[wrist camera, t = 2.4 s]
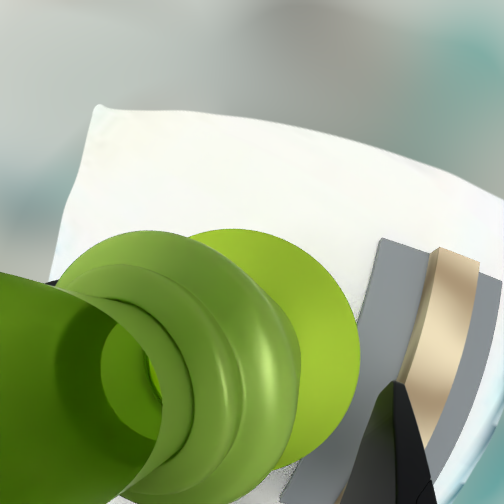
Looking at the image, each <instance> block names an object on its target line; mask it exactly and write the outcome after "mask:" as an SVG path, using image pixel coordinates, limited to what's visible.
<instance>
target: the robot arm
mask: <svg viewBox="0 0 504 504" xmlns="http://www.w3.org/2000/svg"><path fill="white" fill-rule="evenodd" d="M57 282H58V280H55V281H51V282H47V283H45V284H47V285H51V286H54V287H55V285H56V284H57ZM43 284H44V283H43ZM340 504H437V501H436V496H435V492H434V487H433V483H432V480H431V474H430V470H429V466H428V461H427V457H426V453H425V450H424V446H423V442H422V438H421V435H420V431H419V428H418V425H417V421H416V418H415V415H414V411H413V408H412V405H411V402H410V399H409V396H408V393H407V390H406V387H405V385H404V384H403V383H402V382H399V381H396V380H393V381H391V382H390V383H389V384H388V385H387V386H386V387H385V388H384V389H383V390H382V391H381V392H380V393H379V395H378V397H377V399H376V402H375V405H374V408H373V410H372V413H371V416H370V419H369V421H368V424H367V426H366V429H365V431H364V434H363V437H362V439H361V443H360V446H359V449H358V452H357V456H356V459H355V462H354V465H353V468H352V471H351V474H350V477H349V480H348V483H347V486H346V488H345V491H344V494H343V496H342V499H341V501H340Z"/></svg>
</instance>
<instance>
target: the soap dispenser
mask: <svg viewBox="0 0 504 504" xmlns="http://www.w3.org/2000/svg"><path fill="white" fill-rule="evenodd" d="M359 370H360V342H359V335H358V330H357V325H356V322H355V318H354V315H353V312H352V310H351V307H350V305H349V303H348V301H347V299H346V297H345V295H344V293H343V292H342V290H341V288H340V287H339V285H338V284H337V283H336V281H335V280H334V278H333V277H332V276H331V275H330V274H329V273H328V271H327V270H326V269H325V268H324V267H323V266H322V265H321V264H320V263H319V262H318V261H316V260H315V259H314V258H313V257H312V256H310V255H309V254H308V253H306V252H305V251H303V250H302V249H300V248H299V247H297V246H295V245H293V244H292V243H290V242H288V241H285V240H283V239H281V238H278V237H276V236H273V235H270V234H266V233H262V232H258V231H253V230H245V229H220V230H213V231H208V232H203V233H199V234H196V235H193V236H190V237H184V236H181V235H178V234H174V233H169V232H162V231H134V232H128V233H124V234H120V235H117V236H114V237H111V238H108V239H106V240H104V241H102V242H100V243H98V244H96V245H95V246H93V247H92V248H90V249H89V250H87V251H86V252H85V253H83V254H82V255H81V256H80V257H78V258H77V259H76V260H75V261H74V262H73V263H72V264H71V265H70V266H69V267H68V268H67V270H66V271H65V272H64V273H63V275H62V276H61V277H60V279H59V280H58V282H57V284H56V285H55V287H54V286H51V285H47V284H43V283H40V282H36V281H33V280H29V279H25V278H22V277H18V276H14V275H10V274H5V273H2V272H0V504H106V503H108V502H109V501H111V500H112V499H114V498H115V497H117V496H118V495H120V496H122V497H124V498H126V499H128V500H130V501H132V502H135V503H137V504H229V503H232V502H234V501H236V500H238V499H239V498H241V497H243V496H244V495H246V494H247V493H249V492H250V491H252V490H253V489H254V488H255V487H256V486H258V485H259V484H260V483H261V482H262V481H263V480H264V479H265V478H266V476H267V475H268V474H269V473H270V472H271V471H272V470H276V469H279V468H282V467H285V466H287V465H289V464H292V463H294V462H296V461H298V460H300V459H301V458H303V457H305V456H306V455H308V454H309V453H311V452H312V451H313V450H315V449H316V448H317V447H318V446H320V445H321V444H322V443H323V442H324V441H325V440H326V439H327V438H328V437H329V436H330V435H331V433H332V432H333V431H334V430H335V429H336V427H337V426H338V425H339V423H340V422H341V420H342V419H343V417H344V415H345V413H346V412H347V410H348V408H349V406H350V403H351V401H352V398H353V396H354V393H355V389H356V386H357V382H358V377H359Z"/></svg>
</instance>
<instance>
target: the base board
mask: <svg viewBox="0 0 504 504" xmlns="http://www.w3.org/2000/svg"><path fill="white" fill-rule="evenodd" d="M429 255H430V254H429V253H426V252H423V251H420V250H417V249H414V248H412V247H409V246H406V245H403V244H400V243H397V242H394V241H391V240H388V239H385V238H381V240H380V241H379V245H378V249H377V254H376V258H375V262H374V266H373V270H372V274H371V277H370V281H369V285H368V288H367V292H366V295H365V299H364V302H363V306H362V309H361V312H360V316H359V319H358V322H357V330H358V335H359V342H360V370H359V377H358V382H357V386H356V389H355V393H354V396H353V398H352V401H351V403H350V406H349V408H348V410H347V412H346V413H345V415H344V417H343V419H342V420H341V422H340V423H339V425H338V426H337V427H336V429H335V430H334V431H333V432H332V433H331V435H330V436H329V437H328V438H327V439H326V440H325V441H324V442H323V443H322V444H321V445H320V446H318V447H317V448H316V449H315V450H313V451H312V452H311V453H309V454H308V455H306V456H305V457H303V458H301V460H300V462H299V464H298V466H297V468H296V470H295V472H294V473H293V475H292V477H291V479H290V481H289V483H288V484H287V486H286V488H285V490H284V491H283V493H282V495H281V496H280V501H279V502H281V503H285V504H334V503H335V501H336V500H337V498H338V497H339V495H340V494H341V492H342V490H343V489H344V487H345V486H346V484H347V482H348V480H349V477H350V474H351V471H352V468H353V465H354V462H355V459H356V456H357V452H358V449H359V446H360V443H361V439H362V437H363V434H364V431H365V429H366V426H367V424H368V421H369V419H370V416H371V413H372V410H373V408H374V405H375V402H376V399H377V397H378V395H379V393H380V392H381V391H382V390H383V389H384V388H385V387H386V386H387V385H388V384H389V383H390V382H391V381H393V380H397V377H398V374H399V371H400V368H401V366H402V363H403V360H404V357H405V354H406V351H407V347H408V344H409V341H410V338H411V334H412V331H413V327H414V324H415V320H416V316H417V312H418V308H419V304H420V300H421V296H422V291H423V287H424V282H425V277H426V272H427V267H428V261H429ZM501 289H502V281H500V280H498V279H495V278H493V277H490V276H488V275H485V274H483V273H480V272H479V274H478V281H477V288H476V294H475V300H474V305H473V311H472V316H471V320H470V325H469V329H468V333H467V337H466V341H465V345H464V349H463V353H462V356H461V359H460V363H459V366H458V369H457V372H456V375H455V379H454V381H453V384H452V387H451V390H450V393H449V395H448V398H447V401H446V403H445V406H444V408H443V411H442V413H441V416H440V418H439V420H438V423H437V425H436V427H435V429H434V431H433V434H432V436H431V438H430V440H429V442H428V444H427V446H426V448H425V453H426V457H427V461H428V466H429V470H430V474H431V480H432V483H433V484H434V483H435V481H436V480H437V478H438V476H439V474H440V473H441V471H442V469H443V467H444V466H445V464H446V462H447V460H448V458H449V456H450V454H451V452H452V450H453V448H454V446H455V444H456V442H457V440H458V438H459V436H460V434H461V432H462V429H463V427H464V425H465V422H466V420H467V418H468V415H469V413H470V410H471V408H472V405H473V402H474V400H475V397H476V394H477V391H478V388H479V385H480V382H481V379H482V376H483V373H484V370H485V366H486V363H487V359H488V355H489V352H490V348H491V343H492V339H493V335H494V330H495V325H496V320H497V315H498V309H499V303H500V296H501Z"/></svg>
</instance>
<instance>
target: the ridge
mask: <svg viewBox="0 0 504 504" xmlns="http://www.w3.org/2000/svg"><path fill="white" fill-rule="evenodd" d="M479 265H480V262H478V261H475V260H473V259H470V258H468V257H465V256H462V255H460V254H457V253H455V252H452V251H449V250H447V249H444V248H441V247H439V248H437V249H436V250H434V251H433V252H432V253H430V255H429V261H428V267H427V272H426V277H425V282H424V287H423V291H422V296H421V300H420V304H419V308H418V312H417V316H416V320H415V324H414V327H413V331H412V334H411V338H410V341H409V344H408V347H407V351H406V354H405V357H404V360H403V363H402V366H401V368H400V371H399V374H398V377H397V380H396V381H399V382H402V383H403V384H404V385H405V387H406V390H407V393H408V396H409V399H410V402H411V405H412V408H413V411H414V415H415V418H416V421H417V425H418V428H419V431H420V435H421V438H422V442H423V446H424V450H425V448H426V446H427V444H428V442H429V440H430V438H431V436H432V434H433V431H434V429H435V427H436V425H437V423H438V420H439V418H440V416H441V413H442V411H443V408H444V406H445V403H446V401H447V398H448V395H449V393H450V390H451V387H452V384H453V381H454V379H455V375H456V372H457V369H458V366H459V363H460V359H461V356H462V353H463V349H464V345H465V341H466V337H467V333H468V329H469V325H470V320H471V316H472V311H473V305H474V300H475V294H476V288H477V281H478V274H479ZM347 483H348V482H347ZM346 486H347V484H346ZM346 486H345V487H344V489H343V490H342V492H341V494H340V495H339V497H338V498H337V500H336V501H335V503H334V504H340V501H341V499H342V496H343V494H344V491H345V488H346Z"/></svg>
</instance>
